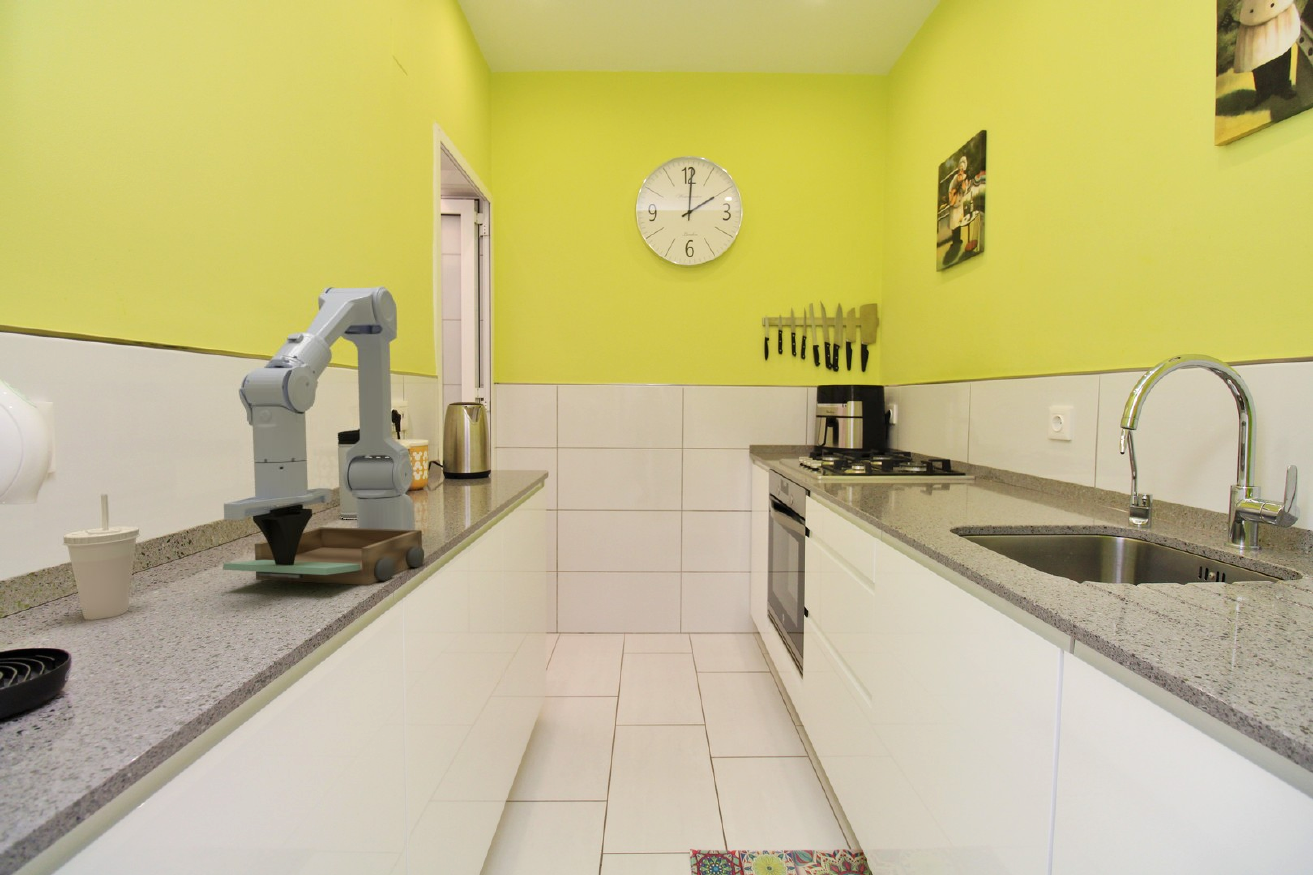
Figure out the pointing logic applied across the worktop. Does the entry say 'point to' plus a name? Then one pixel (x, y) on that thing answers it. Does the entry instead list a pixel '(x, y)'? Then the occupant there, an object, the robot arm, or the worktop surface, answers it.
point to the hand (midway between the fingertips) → (284, 565)
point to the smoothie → (103, 566)
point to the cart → (354, 553)
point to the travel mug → (344, 444)
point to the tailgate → (290, 568)
